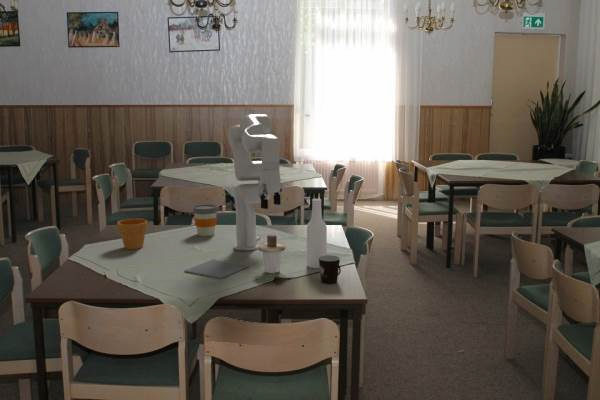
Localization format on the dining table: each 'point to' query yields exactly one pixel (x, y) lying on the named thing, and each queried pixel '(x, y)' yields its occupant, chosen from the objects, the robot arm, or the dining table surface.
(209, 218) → the reusable coffee cup
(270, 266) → the white cup
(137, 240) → the flower pot
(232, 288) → the dining table surface
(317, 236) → the alcohol
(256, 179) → the robot arm
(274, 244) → the lid
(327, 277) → the coffee mug
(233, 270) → the mat
